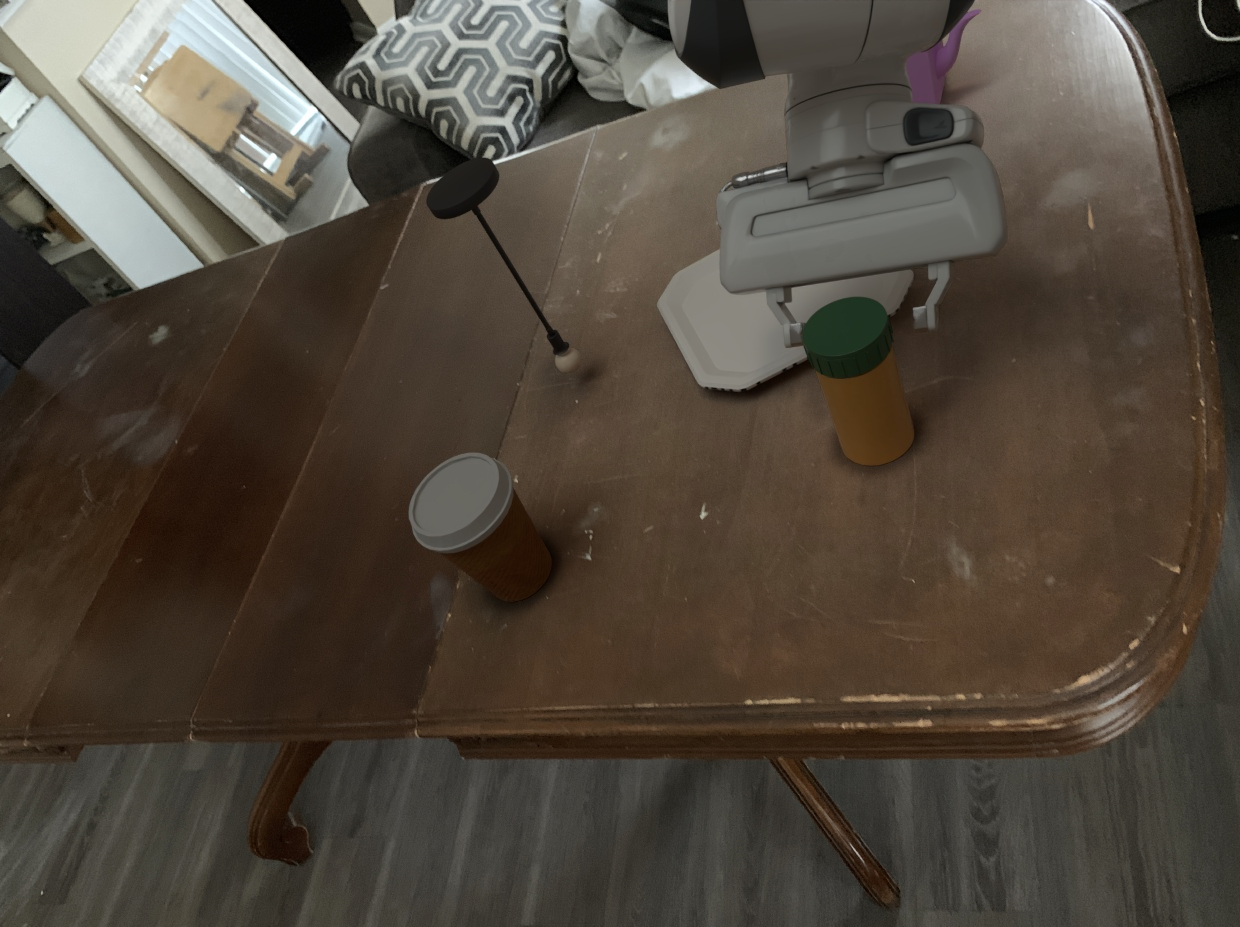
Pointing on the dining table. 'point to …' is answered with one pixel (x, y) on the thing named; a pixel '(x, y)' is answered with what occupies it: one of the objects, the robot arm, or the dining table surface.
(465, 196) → the light fixture
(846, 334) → the lid
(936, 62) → the teapot
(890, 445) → the jar
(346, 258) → the dining table surface
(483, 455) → the disposable coffee cup
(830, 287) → the plate
